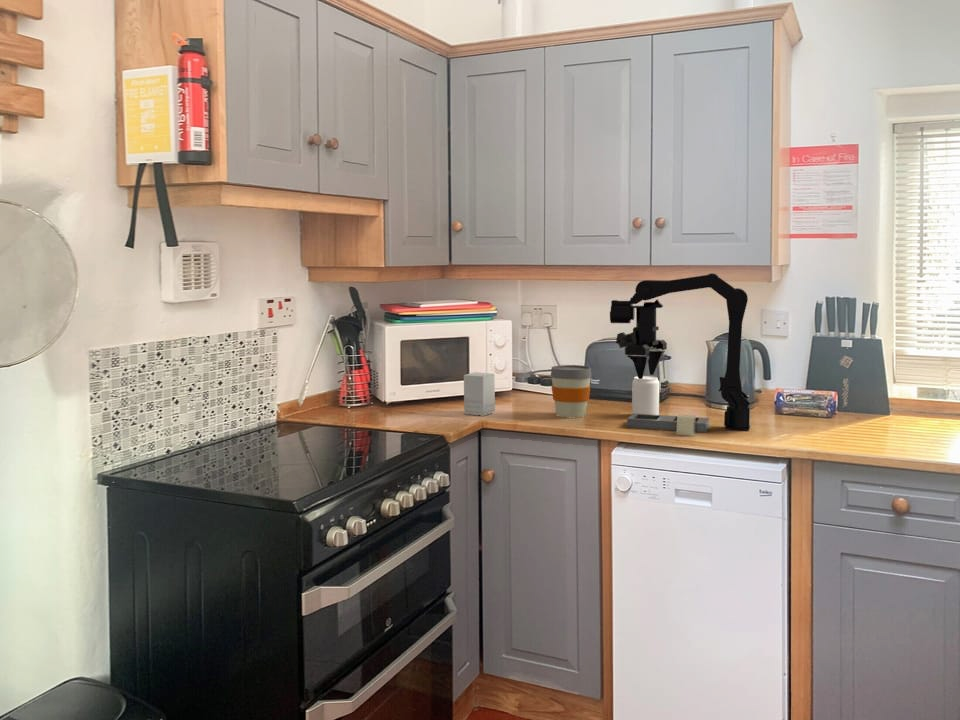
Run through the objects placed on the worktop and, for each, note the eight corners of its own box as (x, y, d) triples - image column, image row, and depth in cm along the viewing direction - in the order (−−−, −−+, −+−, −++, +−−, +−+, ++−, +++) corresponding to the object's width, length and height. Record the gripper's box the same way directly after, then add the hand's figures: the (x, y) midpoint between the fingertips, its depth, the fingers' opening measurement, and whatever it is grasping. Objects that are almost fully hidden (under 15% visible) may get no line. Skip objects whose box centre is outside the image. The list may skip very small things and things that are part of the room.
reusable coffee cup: (570, 420, 253) (571, 371, 251) (542, 415, 262) (542, 367, 261) (599, 415, 260) (600, 367, 259) (570, 410, 270) (571, 363, 268)
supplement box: (495, 412, 267) (495, 373, 265) (483, 416, 261) (483, 376, 259) (476, 410, 271) (475, 371, 269) (463, 414, 264) (463, 374, 263)
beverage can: (658, 419, 255) (659, 379, 253) (631, 418, 256) (632, 379, 255) (658, 414, 262) (659, 376, 261) (632, 413, 264) (632, 375, 263)
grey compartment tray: (709, 426, 243) (709, 417, 243) (705, 432, 235) (706, 423, 234) (632, 421, 251) (632, 413, 250) (627, 427, 242) (627, 418, 242)
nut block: (695, 433, 234) (695, 415, 234) (693, 436, 230) (693, 418, 230) (678, 432, 236) (679, 414, 235) (676, 435, 232) (677, 417, 231)
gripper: (632, 320, 256) (632, 371, 258) (607, 325, 241) (607, 379, 243) (667, 321, 251) (667, 373, 252) (644, 326, 235) (644, 381, 237)
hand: (646, 376), depth 246 cm, fingers open, 9 cm apart
